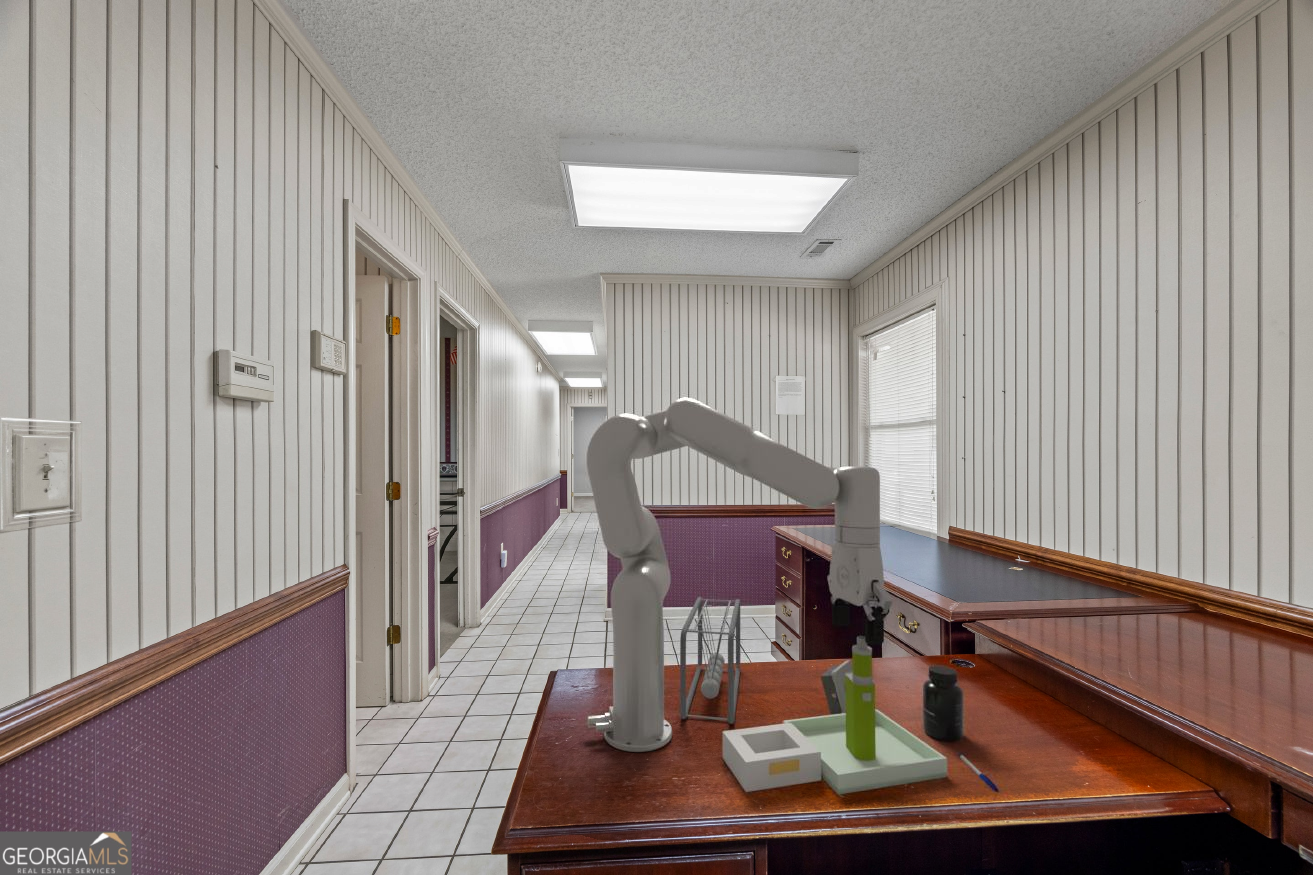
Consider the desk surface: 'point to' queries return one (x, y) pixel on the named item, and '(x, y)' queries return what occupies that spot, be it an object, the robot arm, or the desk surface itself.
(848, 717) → the vape
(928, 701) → the supplement bottle
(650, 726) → the robot arm
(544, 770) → the desk surface
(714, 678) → the newton's cradle
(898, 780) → the parts tray
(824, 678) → the electrical switch
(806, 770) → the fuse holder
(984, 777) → the ballpoint pen
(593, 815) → the desk surface
